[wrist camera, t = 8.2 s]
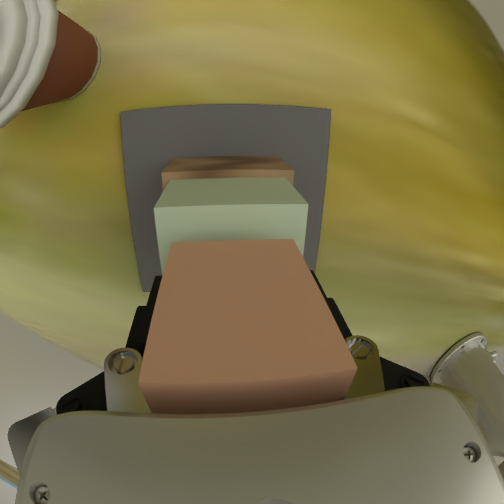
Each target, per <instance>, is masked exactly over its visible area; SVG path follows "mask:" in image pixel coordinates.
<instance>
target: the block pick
mask: <svg viewBox="0 0 504 504" xmlns="http://www.w3.org/2000/svg"><path fill="white" fill-rule="evenodd" d="M356 371H357V365H356V363H355V361H354V359H353V357H352V355H351V353H350V351H349V348H348V346H347V344H346V342H345V340H344V338H343V336H342V334H341V332H340V330H339V328H338V326H337V324H336V321H335V319H334V317H333V315H332V313H331V311H330V309H329V307H328V305H327V303H326V301H325V299H324V297H323V295H322V293H321V291H320V289H319V287H318V285H317V283H316V281H315V279H314V278H313V276H312V274H311V272H310V270H309V268H308V266H307V264H306V262H305V260H304V258H303V256H302V254H301V252H300V250H299V249H298V247H297V245H296V243H295V241H294V239H259V240H226V241H195V242H172V244H171V247H170V250H169V254H168V258H167V261H166V265H165V268H164V272H163V276H162V280H161V283H160V287H159V291H158V295H157V299H156V303H155V307H154V311H153V316H152V320H151V324H150V328H149V333H148V337H147V342H146V347H145V351H144V356H143V361H142V366H141V371H140V376H139V381H138V383H139V386H140V388H141V390H142V393H143V395H144V397H145V400H146V402H147V404H148V407H149V409H150V410H152V411H153V413H154V414H224V413H243V412H256V411H268V410H277V409H286V408H294V407H302V406H309V405H316V404H322V403H328V402H334V401H340V400H342V399H343V397H344V396H346V395H347V393H348V390H349V388H350V385H351V383H352V381H353V378H354V376H355V373H356Z"/></svg>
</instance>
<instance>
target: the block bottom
mask: <svg viewBox="0 0 504 504" xmlns="http://www.w3.org/2000/svg"><path fill="white" fill-rule="evenodd" d="M208 178H286V179H287V180H288V181H289V182H290V183H291V184H292V186H293V181H294V169H292V168H291V167H290V166H289V165H288V164H287V163H286V162H285V161H283V160H282V159H281V158H280V157H279V156H210V157H186V158H173V159H172V160H171V162H170V163H169V164H168V165H167V166H166V168H165V169H164V170H163V171H162V187H163V191H164V189H165V188H166V186H167V184H168V183H169V181H170V180H183V179H208Z"/></svg>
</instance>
